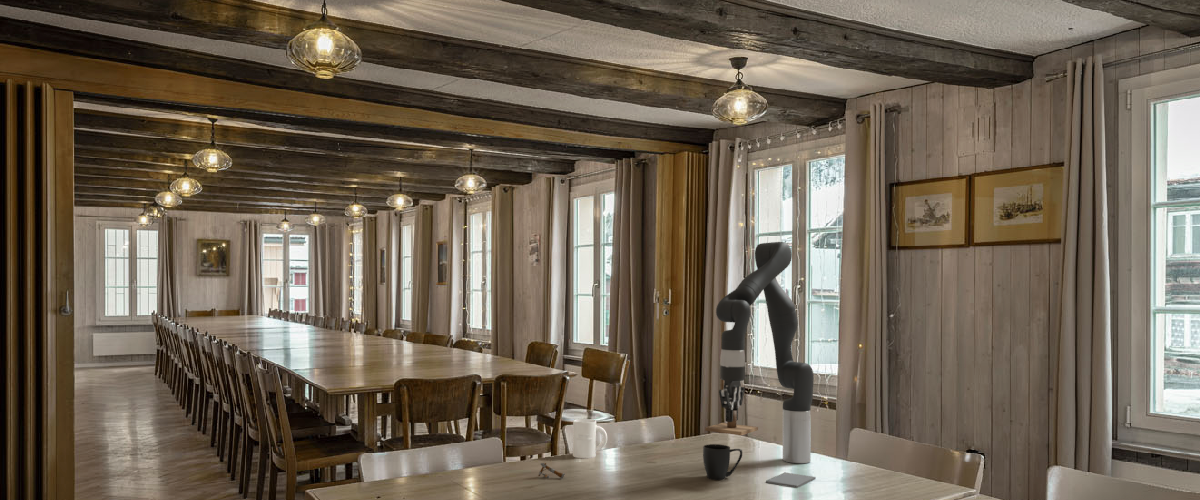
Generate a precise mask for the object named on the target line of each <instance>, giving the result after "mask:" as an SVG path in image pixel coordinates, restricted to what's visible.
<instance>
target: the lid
mask: <svg viewBox="0 0 1200 500" xmlns="http://www.w3.org/2000/svg"><path fill="white" fill-rule="evenodd" d="M737 421H738V420H737V411H735V410H733V422H721V423H720V422H719V423H716V424H714V425H713V424H712V425H709V426H706V427H704V431H705V432H711V433H721V434H728V435H735V436H743V435H746V434H750V433H754V432H757V431H759V427H758V426H753V425H752V426H751V425H743V424H737Z"/></svg>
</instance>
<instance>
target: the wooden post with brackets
mask: <svg viewBox="0 0 1200 500" xmlns="http://www.w3.org/2000/svg"><path fill="white" fill-rule="evenodd" d="M540 465H541V469H540V471H539V473H538V474H537V476H538V477H541V475H542V476H543V478H546V479H550V476H549V474H547V473H544V471H546V470H547V471H548V472H550V473H552V474H554V475H556V476H557V477H559V478H560V480H562V479H563V478H564V477H565V475H566V473H565V472H560V471H558V470H556V469H554V468H553V467H551V466H548V464H547V462H540Z"/></svg>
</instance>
